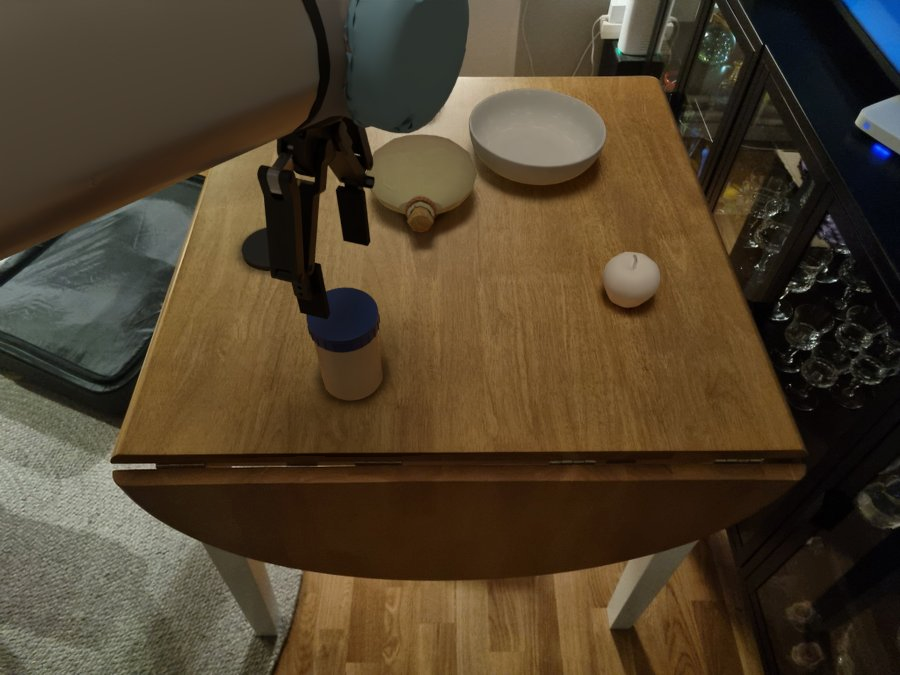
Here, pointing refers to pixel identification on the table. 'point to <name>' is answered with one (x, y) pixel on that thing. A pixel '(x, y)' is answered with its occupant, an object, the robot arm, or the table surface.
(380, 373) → the jar
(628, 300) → the apple
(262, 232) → the coaster
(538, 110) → the serving bowl
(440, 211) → the flask
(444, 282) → the table surface
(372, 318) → the jar lid
